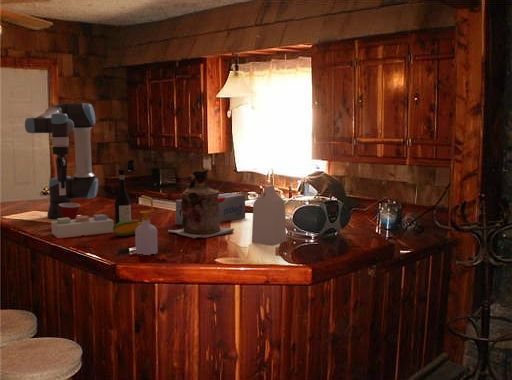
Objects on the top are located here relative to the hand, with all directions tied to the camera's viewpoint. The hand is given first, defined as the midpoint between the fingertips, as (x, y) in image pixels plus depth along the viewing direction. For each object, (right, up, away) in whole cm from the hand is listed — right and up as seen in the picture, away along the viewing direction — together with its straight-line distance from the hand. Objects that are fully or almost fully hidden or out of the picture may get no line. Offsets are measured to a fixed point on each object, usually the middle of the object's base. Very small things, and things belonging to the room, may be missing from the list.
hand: (62, 195), depth 273 cm
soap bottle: (+47, -24, -35) cm, 63 cm away
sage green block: (0, -16, +2) cm, 17 cm away
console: (+8, -19, +7) cm, 22 cm away
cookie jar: (+66, -19, +8) cm, 69 cm away
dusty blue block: (+15, -15, +12) cm, 25 cm away
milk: (+100, -22, -12) cm, 103 cm away
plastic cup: (-4, -17, +24) cm, 29 cm away
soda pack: (+69, -15, +40) cm, 81 cm away
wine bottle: (+23, -17, +26) cm, 38 cm away
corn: (+32, -20, +4) cm, 38 cm away
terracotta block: (+8, -16, +7) cm, 19 cm away
